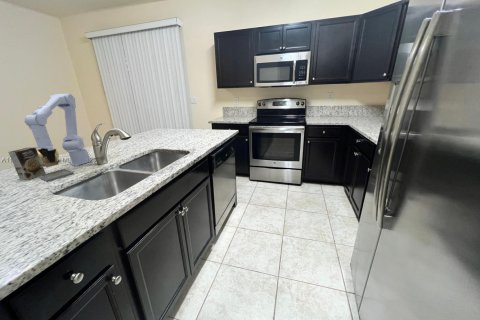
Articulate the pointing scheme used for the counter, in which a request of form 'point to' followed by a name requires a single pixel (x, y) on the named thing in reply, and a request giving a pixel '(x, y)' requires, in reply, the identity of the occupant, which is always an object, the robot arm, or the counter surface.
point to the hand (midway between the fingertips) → (51, 161)
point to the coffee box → (27, 163)
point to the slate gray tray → (56, 175)
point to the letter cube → (48, 164)
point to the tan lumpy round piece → (42, 155)
